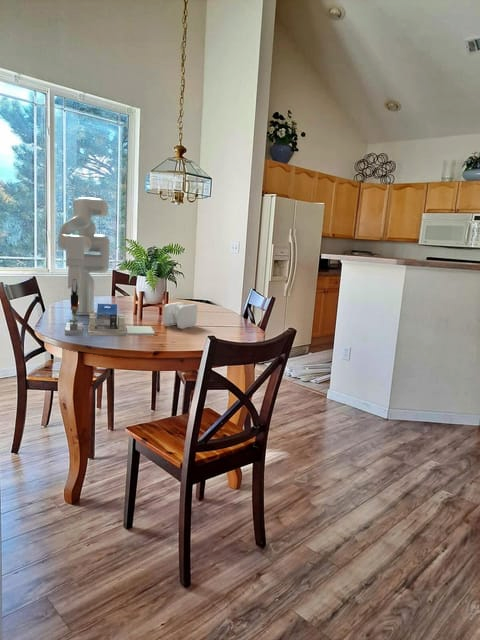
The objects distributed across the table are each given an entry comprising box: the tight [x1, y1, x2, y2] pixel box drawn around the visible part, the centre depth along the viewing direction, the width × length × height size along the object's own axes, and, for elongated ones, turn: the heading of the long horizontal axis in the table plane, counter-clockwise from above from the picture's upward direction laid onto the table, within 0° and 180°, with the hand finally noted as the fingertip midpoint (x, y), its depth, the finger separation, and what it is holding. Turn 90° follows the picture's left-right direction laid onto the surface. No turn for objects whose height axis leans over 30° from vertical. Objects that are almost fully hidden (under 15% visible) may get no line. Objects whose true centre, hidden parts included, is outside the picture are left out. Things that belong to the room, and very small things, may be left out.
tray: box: [125, 325, 156, 336], centre depth 211 cm, size 14×12×1 cm
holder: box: [87, 314, 127, 336], centre depth 206 cm, size 16×16×7 cm
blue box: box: [96, 303, 118, 329], centre depth 206 cm, size 9×4×12 cm, turn 106°
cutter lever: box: [69, 302, 79, 324], centre depth 202 cm, size 15×3×4 cm, turn 18°
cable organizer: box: [162, 301, 198, 330], centre depth 227 cm, size 15×11×12 cm
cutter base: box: [64, 322, 84, 336], centre depth 202 cm, size 15×7×4 cm, turn 18°
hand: (74, 303), depth 205 cm, fingers closed
